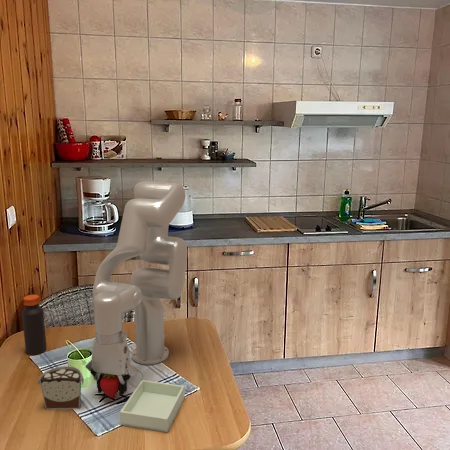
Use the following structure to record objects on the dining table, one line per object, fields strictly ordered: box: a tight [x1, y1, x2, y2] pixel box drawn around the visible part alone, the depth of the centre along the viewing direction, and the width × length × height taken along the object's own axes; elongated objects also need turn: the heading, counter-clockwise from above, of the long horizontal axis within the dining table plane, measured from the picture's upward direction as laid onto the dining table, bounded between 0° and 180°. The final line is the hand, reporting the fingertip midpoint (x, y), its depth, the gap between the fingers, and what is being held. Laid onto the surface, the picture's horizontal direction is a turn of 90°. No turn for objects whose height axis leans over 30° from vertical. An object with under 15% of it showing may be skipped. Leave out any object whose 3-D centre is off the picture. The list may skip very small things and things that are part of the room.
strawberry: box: [100, 373, 120, 399], centre depth 130 cm, size 6×8×10 cm
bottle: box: [21, 294, 48, 356], centre depth 154 cm, size 7×7×20 cm
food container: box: [37, 365, 85, 410], centre depth 127 cm, size 12×6×10 cm, turn 92°
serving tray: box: [119, 379, 186, 433], centre depth 125 cm, size 15×13×4 cm
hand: (112, 391), depth 130 cm, fingers closed on strawberry, 6 cm apart
